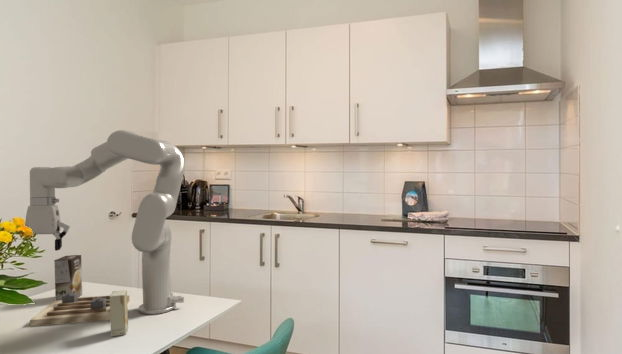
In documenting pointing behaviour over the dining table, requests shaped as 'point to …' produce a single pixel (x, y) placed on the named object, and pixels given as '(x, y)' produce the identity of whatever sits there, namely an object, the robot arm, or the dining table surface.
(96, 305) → the switch tab near
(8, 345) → the dining table surface
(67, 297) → the switch tab far
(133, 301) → the dining table surface
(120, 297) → the skincare box
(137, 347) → the dining table surface
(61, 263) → the coffee box
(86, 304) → the wooden slatted tray
